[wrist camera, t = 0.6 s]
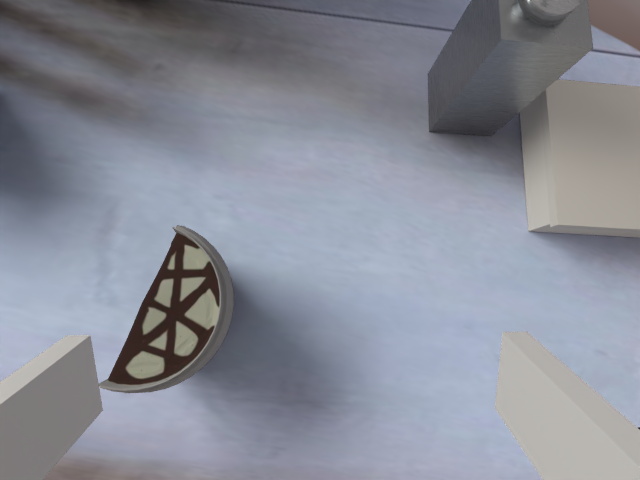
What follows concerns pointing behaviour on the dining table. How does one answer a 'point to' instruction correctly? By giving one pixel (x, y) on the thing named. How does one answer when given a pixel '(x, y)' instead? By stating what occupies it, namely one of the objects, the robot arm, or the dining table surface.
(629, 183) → the plinth
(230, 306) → the food container
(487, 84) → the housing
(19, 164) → the dining table surface
